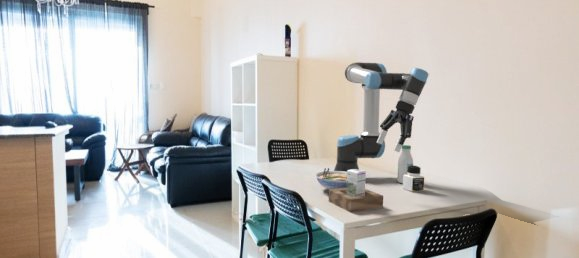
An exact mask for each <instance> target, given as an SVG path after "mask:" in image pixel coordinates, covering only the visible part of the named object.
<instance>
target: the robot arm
mask: <svg viewBox="0 0 579 258" xmlns="http://www.w3.org/2000/svg"><path fill="white" fill-rule="evenodd" d="M429 75H430V73H428V71H426V70H424V69H422V68H419V67H413V68H411V71H410V72H409V73H404V72H402V73H398V72H387V68H386V67H385V65H384V64H383V63H377V62H361V61H360V62H352V63H351V64H349V65H347V67H346V68H345V70H344V77H345V80H347V81H348V82H350V83H352V84H353V83H354V84H361V88H362V89H363V90H364V92H363V125H362V126H363V127H362V128H363V129H362V130H363V131H362V132H361V133H360V137H359V135H356V134H350V135H349V134H348V135H343V136H340V137H338V139H337V145H336V148H337V149H336V164H335V166H334V170H333V171H345V172H347V170H351V169H358V170H360V169H359V163H358V159H379V158H381V157H382V156H383V155H384V153H385V149H386V142H385V141H386V140H385V139H386V136H387V134H388V130H389V129H390V128H392V127H393V126H394V125H395V124H397V123H399V125H400V135H399V137H398V138H397V141H396V144H395V145H394V148H393V151H395V152H397V153H400V151H402V145H405V144H404V143H405V141H406V139H410V138H412V128H413V121H414V118H415V116H413V115H412V114H413V112H414V110H415V106H416V105H417V103H418V101H419V98H420V96H421V94H422V92H423V89H424V88H425V85H426V83H427V81H428V77H429ZM381 90H395V91H396V90H397V91H399V90H400V91H402V92H401V93H400V95H399V99H398V101H397V103H396V105H395V109H396V110H393V109H391V110H390V112H389V114H388V115H387V116H386V117H385V119H384V120H382V122H381V124H380V95H381V94H380V91H381ZM380 128H381V130H379V129H380ZM379 131H380V132H379Z"/></svg>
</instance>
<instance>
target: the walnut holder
mask: <svg viewBox="0 0 579 258" xmlns="http://www.w3.org/2000/svg"><path fill="white" fill-rule="evenodd" d="M346 191H347V188H342V189H332V190H329V189H328V203H331V204H333V205H335V206H337V207H338V208H342V210H345V211H347V212H349V213H355V212H361V211H362V212H363V211H370V210H376V209H383V208H384V195H382V194H380V193H377V192H374V191H372V190H370V189H367V188H365V196H357V197H352V196H349V195H347V194H346Z"/></svg>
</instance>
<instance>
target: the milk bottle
mask: <svg viewBox="0 0 579 258" xmlns="http://www.w3.org/2000/svg"><path fill="white" fill-rule="evenodd" d="M411 150H412V146H411V145H410V144H409V145H406V144H403V145H402V147H401V154H400V156H399V157H398V162H397V176H396V177H397V178H396V179H397V183H398V184H399V183H400V184H403V175H408V174H407V172H408V166H411V165H414V159H413V156H412V153H411Z"/></svg>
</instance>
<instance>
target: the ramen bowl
mask: <svg viewBox="0 0 579 258" xmlns="http://www.w3.org/2000/svg"><path fill="white" fill-rule="evenodd" d="M314 175H315V178H316V180H317V182H318V183H319V185H320V186H321V187H323V188H325V189H328V191H329V190H332V189H342V188H347V172H345V171H334V170H330V168H329V167H327V168H326V167H324V170H322V171H318V172H316V173H314Z"/></svg>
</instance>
